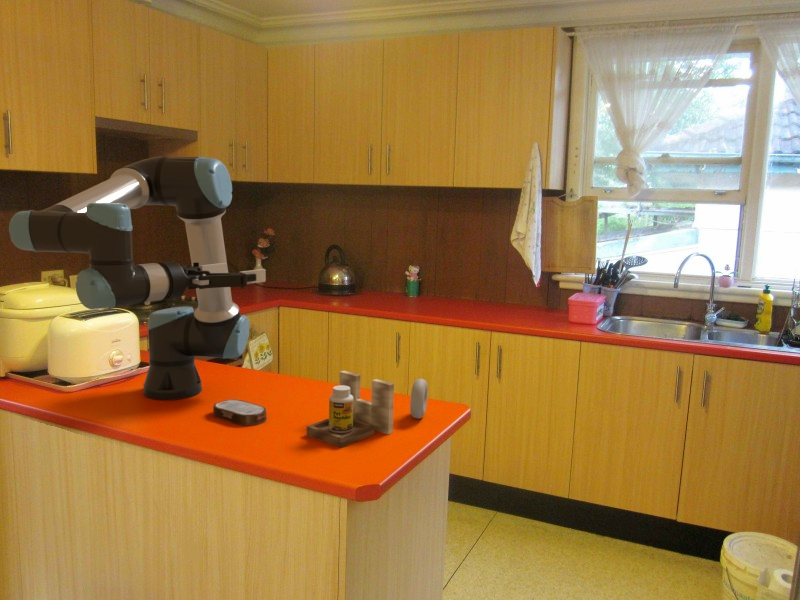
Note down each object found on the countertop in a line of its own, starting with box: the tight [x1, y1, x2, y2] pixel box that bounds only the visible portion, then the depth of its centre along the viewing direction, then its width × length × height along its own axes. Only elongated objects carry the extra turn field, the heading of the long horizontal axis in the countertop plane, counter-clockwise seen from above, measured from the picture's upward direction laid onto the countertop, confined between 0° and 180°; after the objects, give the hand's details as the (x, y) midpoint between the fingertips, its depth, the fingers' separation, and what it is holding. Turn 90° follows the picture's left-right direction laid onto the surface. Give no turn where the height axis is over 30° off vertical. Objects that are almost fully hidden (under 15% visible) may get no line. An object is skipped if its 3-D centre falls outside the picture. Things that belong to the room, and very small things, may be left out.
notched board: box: [338, 370, 395, 435], centre depth 157 cm, size 16×2×12 cm, turn 51°
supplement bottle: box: [328, 384, 354, 434], centre depth 151 cm, size 6×6×10 cm
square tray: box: [306, 418, 375, 448], centre depth 152 cm, size 11×11×2 cm
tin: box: [212, 398, 268, 426], centre depth 162 cm, size 15×3×8 cm
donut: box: [409, 378, 429, 420], centre depth 164 cm, size 10×4×10 cm, turn 170°
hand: (244, 272), depth 147 cm, fingers open, 13 cm apart
